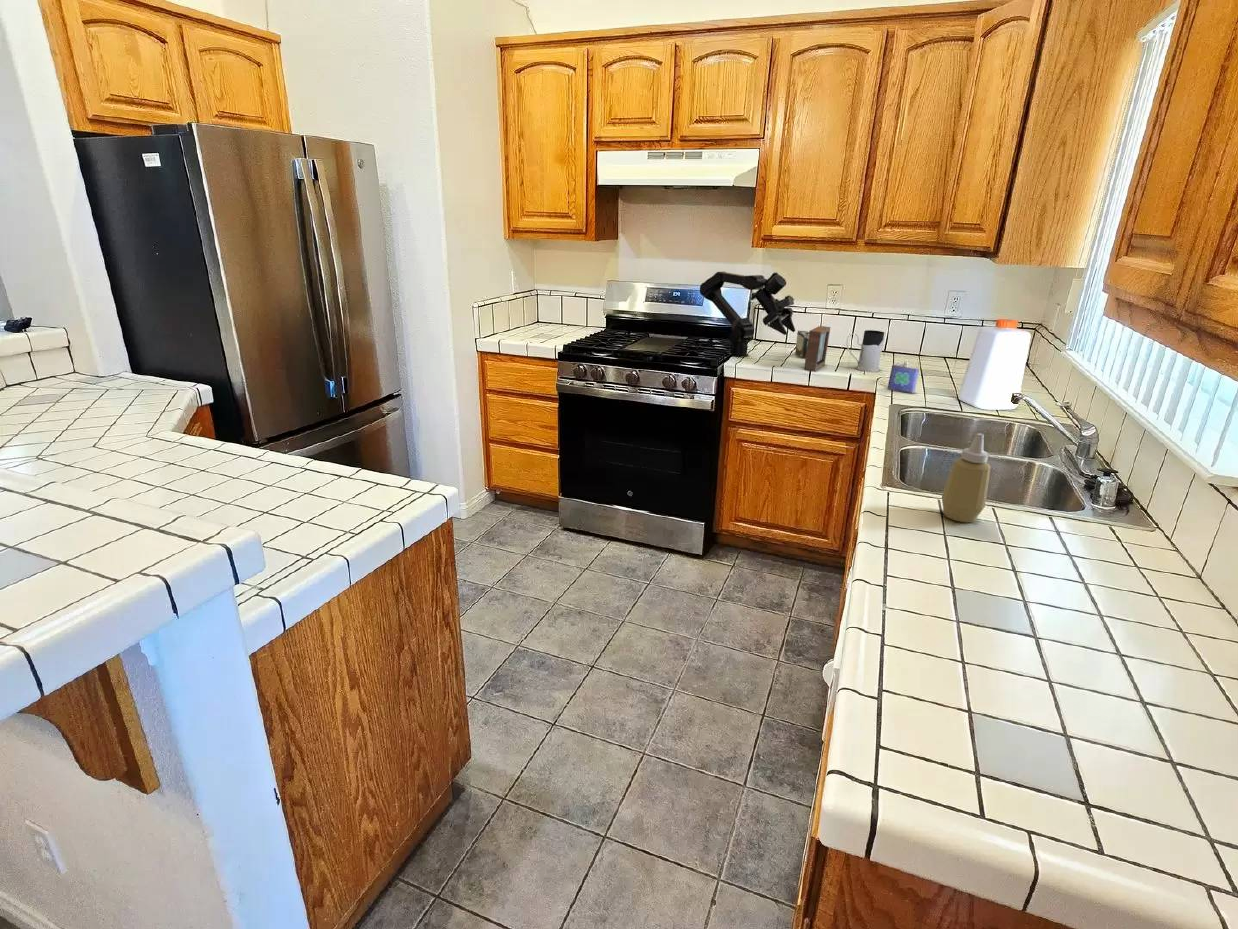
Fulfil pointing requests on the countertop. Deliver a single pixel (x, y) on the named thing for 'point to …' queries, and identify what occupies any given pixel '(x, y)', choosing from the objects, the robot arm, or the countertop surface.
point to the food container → (801, 342)
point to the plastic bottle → (996, 366)
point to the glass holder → (870, 350)
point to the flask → (903, 378)
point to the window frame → (817, 348)
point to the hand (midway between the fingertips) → (790, 332)
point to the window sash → (804, 347)
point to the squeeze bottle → (967, 483)
